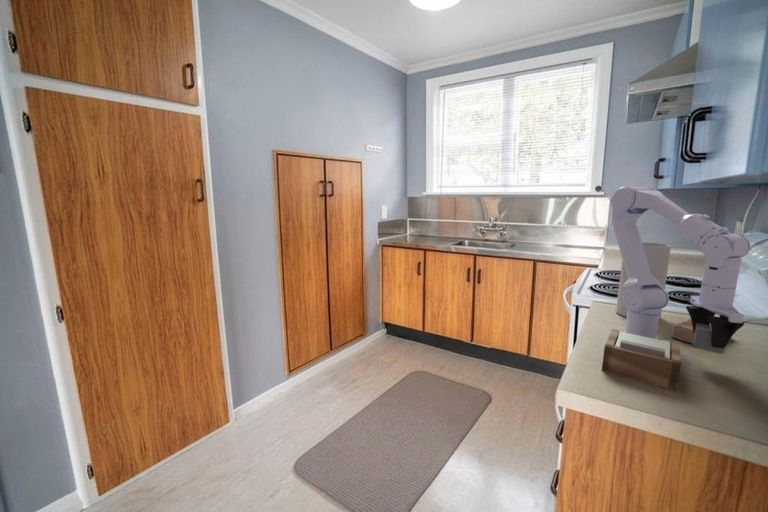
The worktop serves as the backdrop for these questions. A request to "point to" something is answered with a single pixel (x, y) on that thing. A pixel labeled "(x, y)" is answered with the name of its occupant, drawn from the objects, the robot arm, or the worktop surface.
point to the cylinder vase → (658, 267)
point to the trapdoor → (644, 344)
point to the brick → (684, 331)
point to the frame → (642, 364)
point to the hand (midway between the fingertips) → (708, 341)
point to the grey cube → (704, 338)
